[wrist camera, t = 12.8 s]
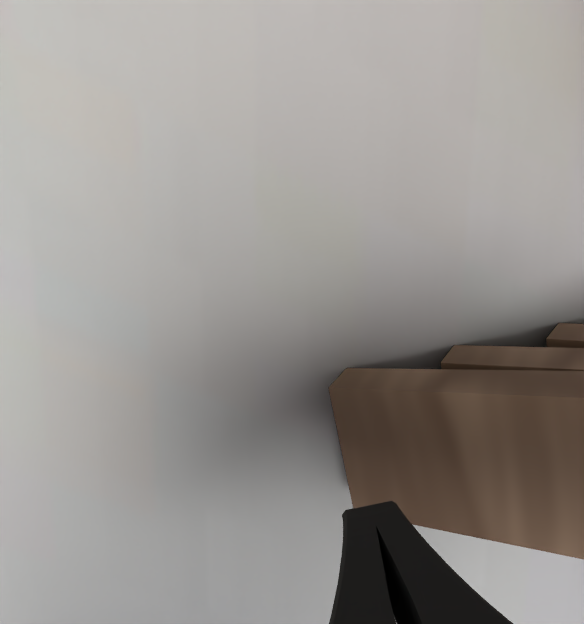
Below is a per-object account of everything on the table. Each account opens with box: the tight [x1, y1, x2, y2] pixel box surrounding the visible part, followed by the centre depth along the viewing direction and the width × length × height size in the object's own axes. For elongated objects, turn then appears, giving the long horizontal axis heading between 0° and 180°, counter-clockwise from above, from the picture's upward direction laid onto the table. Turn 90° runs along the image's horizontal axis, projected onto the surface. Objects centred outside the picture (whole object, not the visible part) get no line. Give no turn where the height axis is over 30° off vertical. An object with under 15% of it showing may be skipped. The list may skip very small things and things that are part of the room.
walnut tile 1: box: [329, 368, 584, 559], centre depth 14 cm, size 2×5×8 cm
